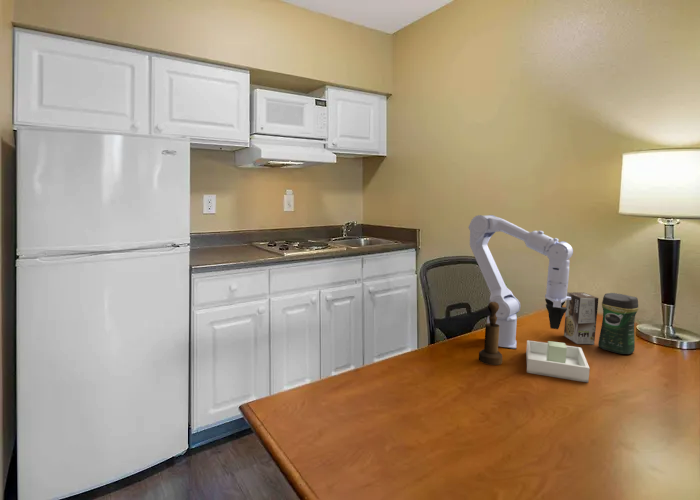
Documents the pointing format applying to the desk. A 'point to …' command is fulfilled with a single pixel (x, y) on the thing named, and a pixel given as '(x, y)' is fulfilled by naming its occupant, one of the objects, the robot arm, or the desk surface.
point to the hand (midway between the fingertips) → (553, 325)
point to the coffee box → (581, 318)
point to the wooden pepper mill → (491, 339)
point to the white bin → (570, 369)
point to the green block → (556, 352)
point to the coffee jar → (618, 323)
